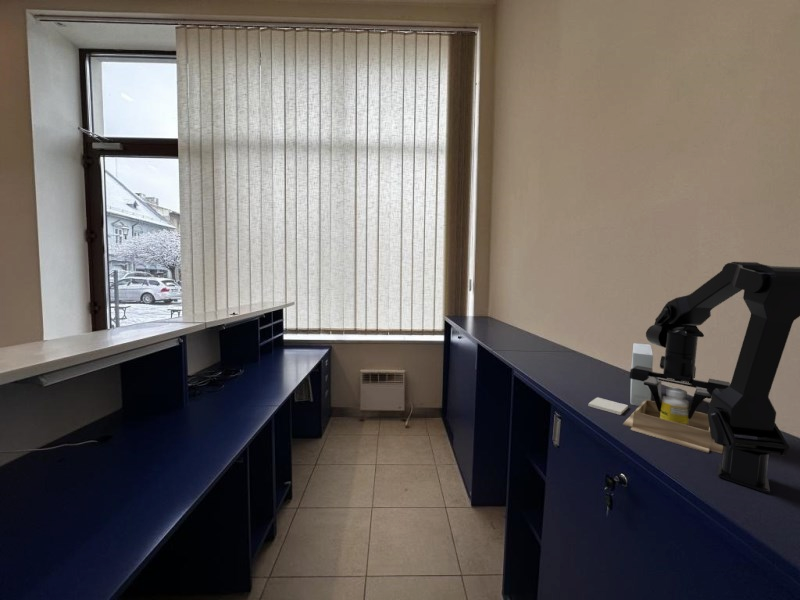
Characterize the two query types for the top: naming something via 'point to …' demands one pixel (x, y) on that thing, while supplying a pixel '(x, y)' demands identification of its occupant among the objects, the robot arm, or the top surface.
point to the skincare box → (645, 359)
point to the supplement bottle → (675, 406)
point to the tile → (608, 405)
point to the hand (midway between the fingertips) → (674, 414)
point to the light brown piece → (673, 428)
